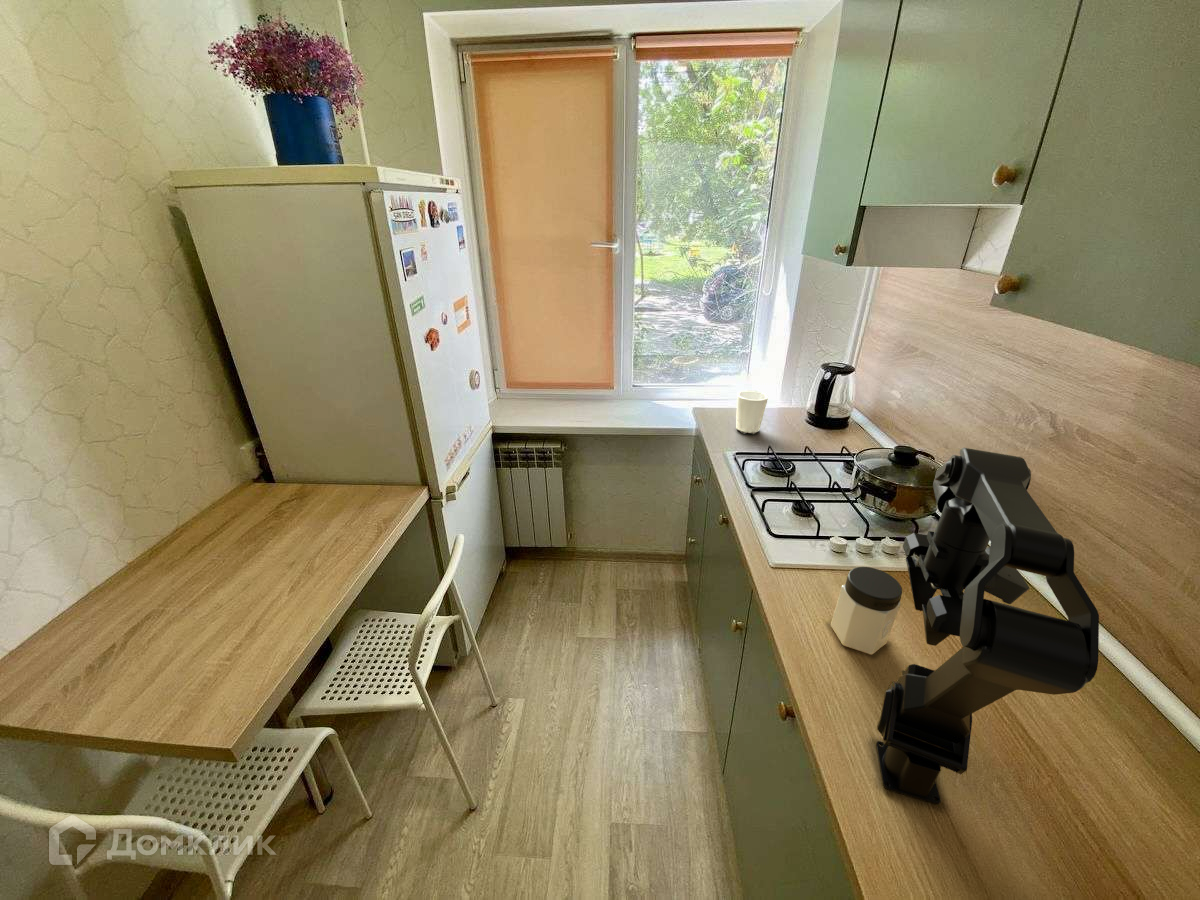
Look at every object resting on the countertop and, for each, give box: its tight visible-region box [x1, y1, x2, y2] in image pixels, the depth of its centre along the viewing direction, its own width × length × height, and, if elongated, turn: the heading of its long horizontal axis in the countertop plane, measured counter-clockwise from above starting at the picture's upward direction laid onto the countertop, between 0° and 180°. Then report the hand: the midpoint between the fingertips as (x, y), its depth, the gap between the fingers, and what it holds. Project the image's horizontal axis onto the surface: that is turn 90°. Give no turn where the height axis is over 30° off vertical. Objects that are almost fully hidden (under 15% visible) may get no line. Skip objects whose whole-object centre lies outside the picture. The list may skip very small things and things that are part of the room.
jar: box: [830, 566, 903, 656], centre depth 84 cm, size 9×8×12 cm
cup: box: [735, 390, 769, 435], centre depth 164 cm, size 10×10×13 cm
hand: (924, 626), depth 71 cm, fingers open, 7 cm apart
